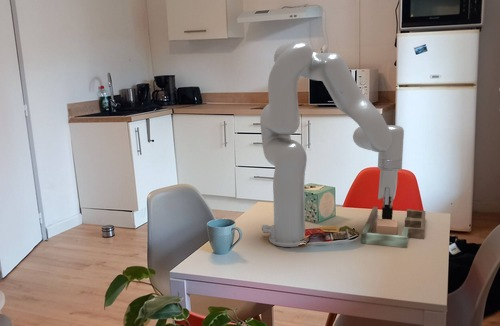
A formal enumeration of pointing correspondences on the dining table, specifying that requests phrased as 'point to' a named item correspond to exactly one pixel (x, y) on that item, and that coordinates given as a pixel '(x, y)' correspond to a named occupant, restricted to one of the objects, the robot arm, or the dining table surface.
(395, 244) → the box
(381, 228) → the block
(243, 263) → the dining table surface
